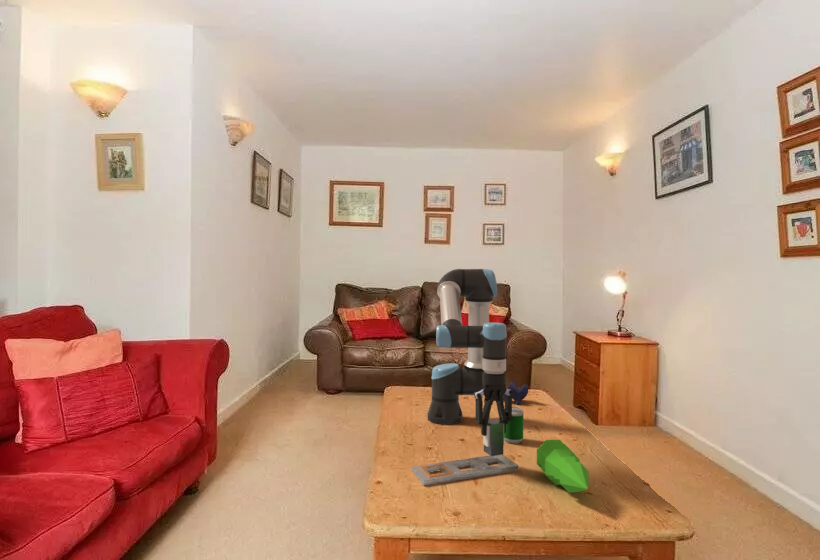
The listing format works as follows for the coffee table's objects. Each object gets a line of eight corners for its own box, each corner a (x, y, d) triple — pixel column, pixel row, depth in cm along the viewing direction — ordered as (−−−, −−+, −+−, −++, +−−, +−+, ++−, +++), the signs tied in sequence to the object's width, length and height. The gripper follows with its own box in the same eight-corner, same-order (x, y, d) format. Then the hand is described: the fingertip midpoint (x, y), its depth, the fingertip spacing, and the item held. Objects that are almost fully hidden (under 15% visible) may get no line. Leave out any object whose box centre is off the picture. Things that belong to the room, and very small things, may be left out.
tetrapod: (498, 397, 223) (501, 377, 221) (521, 396, 225) (524, 376, 222) (506, 409, 213) (508, 388, 210) (530, 408, 214) (532, 387, 211)
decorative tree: (554, 426, 144) (598, 460, 114) (568, 459, 143) (615, 501, 113) (522, 440, 143) (558, 477, 113) (536, 473, 143) (575, 519, 113)
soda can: (523, 445, 160) (524, 412, 160) (502, 443, 161) (502, 410, 162) (522, 438, 167) (522, 406, 167) (502, 436, 169) (502, 405, 169)
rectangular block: (483, 450, 143) (484, 420, 143) (495, 449, 144) (496, 418, 144) (490, 456, 138) (491, 424, 138) (503, 454, 140) (503, 422, 140)
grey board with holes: (411, 471, 137) (411, 466, 137) (501, 458, 148) (501, 453, 148) (423, 485, 127) (423, 479, 127) (518, 470, 138) (518, 464, 138)
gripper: (475, 375, 135) (474, 452, 135) (524, 372, 141) (523, 445, 141) (464, 370, 142) (463, 443, 142) (511, 367, 148) (510, 436, 148)
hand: (493, 444), depth 141 cm, fingers closed on rectangular block, 4 cm apart
